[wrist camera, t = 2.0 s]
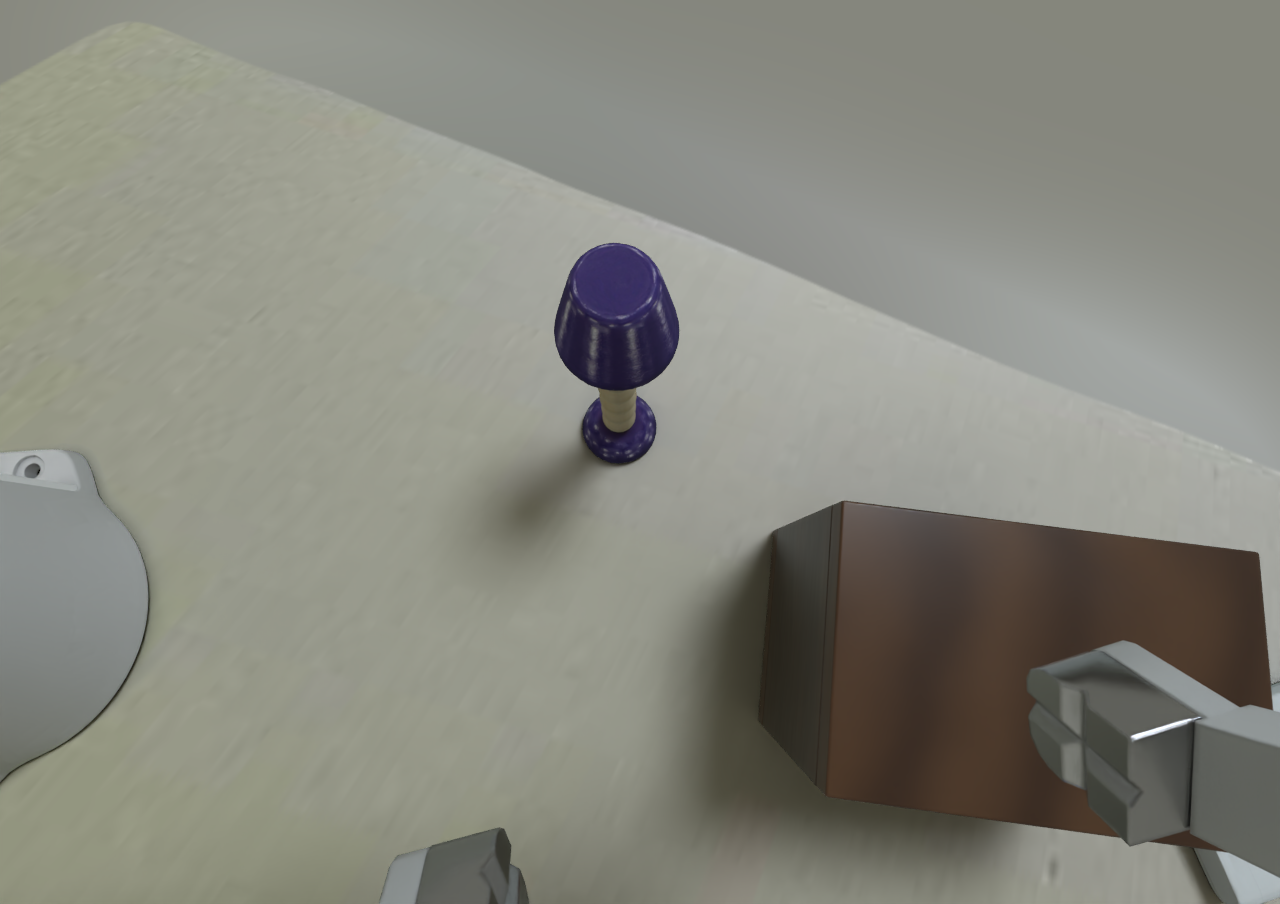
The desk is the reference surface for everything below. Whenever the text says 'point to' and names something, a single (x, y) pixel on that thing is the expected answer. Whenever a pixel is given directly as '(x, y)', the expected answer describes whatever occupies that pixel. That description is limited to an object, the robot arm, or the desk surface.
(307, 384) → the desk surface
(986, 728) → the shelf
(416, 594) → the desk surface
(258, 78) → the desk surface
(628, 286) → the toy lamp
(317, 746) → the desk surface
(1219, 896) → the hard drive
